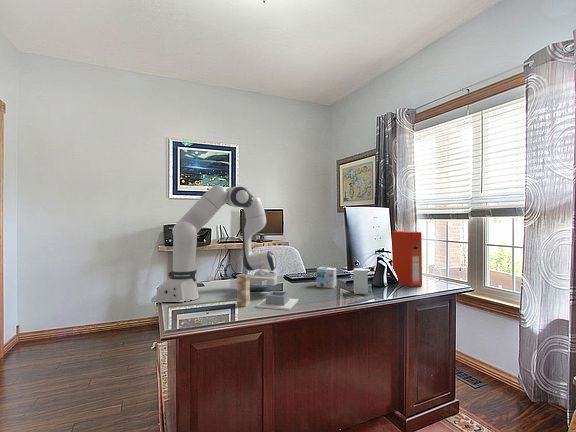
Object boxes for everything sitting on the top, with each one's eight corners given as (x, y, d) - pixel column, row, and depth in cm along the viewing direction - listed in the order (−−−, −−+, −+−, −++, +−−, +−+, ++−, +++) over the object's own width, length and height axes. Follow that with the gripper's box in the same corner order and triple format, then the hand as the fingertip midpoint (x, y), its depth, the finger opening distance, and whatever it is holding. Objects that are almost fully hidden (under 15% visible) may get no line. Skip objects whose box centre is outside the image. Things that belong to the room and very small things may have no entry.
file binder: (410, 287, 178) (410, 232, 178) (392, 281, 194) (392, 231, 194) (422, 286, 180) (421, 232, 180) (402, 280, 196) (402, 231, 197)
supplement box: (368, 294, 161) (367, 270, 161) (353, 293, 163) (353, 270, 163) (367, 291, 169) (367, 268, 169) (353, 290, 170) (353, 267, 170)
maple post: (236, 305, 141) (236, 275, 141) (241, 303, 145) (240, 273, 145) (245, 306, 140) (245, 276, 140) (249, 304, 144) (249, 274, 144)
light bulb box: (316, 286, 180) (316, 268, 180) (319, 284, 186) (319, 266, 186) (334, 288, 176) (333, 269, 176) (336, 285, 182) (336, 267, 182)
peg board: (255, 307, 138) (255, 296, 138) (267, 298, 154) (267, 288, 154) (289, 310, 134) (289, 299, 134) (298, 300, 149) (298, 290, 150)
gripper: (244, 271, 169) (233, 275, 156) (279, 272, 164) (271, 277, 150) (244, 282, 169) (233, 288, 156) (279, 284, 163) (271, 290, 150)
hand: (252, 283), depth 153 cm, fingers open, 8 cm apart
